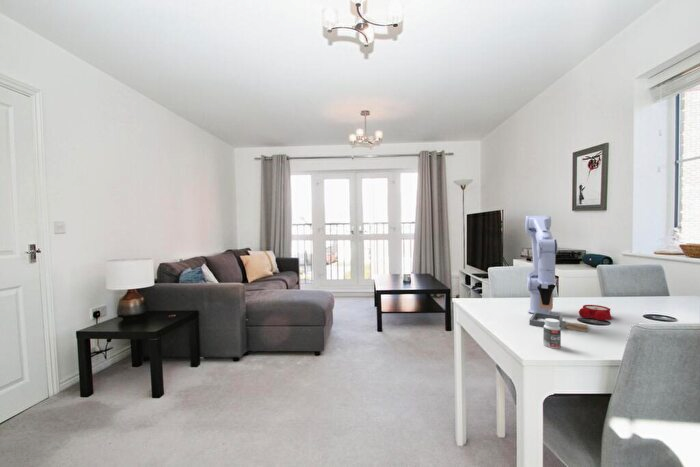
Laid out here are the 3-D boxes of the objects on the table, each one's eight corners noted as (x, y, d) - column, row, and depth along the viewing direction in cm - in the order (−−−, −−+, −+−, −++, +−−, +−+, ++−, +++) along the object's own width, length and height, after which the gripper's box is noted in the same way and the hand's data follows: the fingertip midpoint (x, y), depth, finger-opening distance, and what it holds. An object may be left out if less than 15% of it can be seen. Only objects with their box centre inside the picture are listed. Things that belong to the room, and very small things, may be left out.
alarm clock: (615, 308, 137) (607, 306, 127) (614, 323, 136) (606, 322, 126) (585, 303, 145) (575, 301, 135) (584, 317, 144) (574, 316, 134)
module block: (541, 306, 131) (541, 291, 131) (552, 307, 128) (552, 292, 128) (539, 308, 127) (540, 293, 127) (551, 309, 125) (551, 294, 125)
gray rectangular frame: (534, 316, 136) (534, 312, 136) (562, 320, 130) (562, 315, 130) (529, 324, 126) (529, 319, 125) (560, 329, 120) (560, 324, 120)
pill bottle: (552, 349, 101) (552, 322, 101) (539, 343, 106) (540, 318, 105) (564, 347, 102) (564, 321, 102) (551, 342, 107) (552, 317, 107)
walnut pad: (567, 323, 128) (567, 322, 128) (587, 325, 124) (587, 324, 124) (566, 329, 120) (566, 327, 120) (587, 332, 117) (587, 331, 117)
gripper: (537, 266, 136) (537, 298, 136) (532, 270, 124) (532, 305, 124) (557, 268, 131) (556, 301, 132) (554, 272, 120) (553, 308, 120)
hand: (546, 303), depth 128 cm, fingers closed on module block, 4 cm apart
